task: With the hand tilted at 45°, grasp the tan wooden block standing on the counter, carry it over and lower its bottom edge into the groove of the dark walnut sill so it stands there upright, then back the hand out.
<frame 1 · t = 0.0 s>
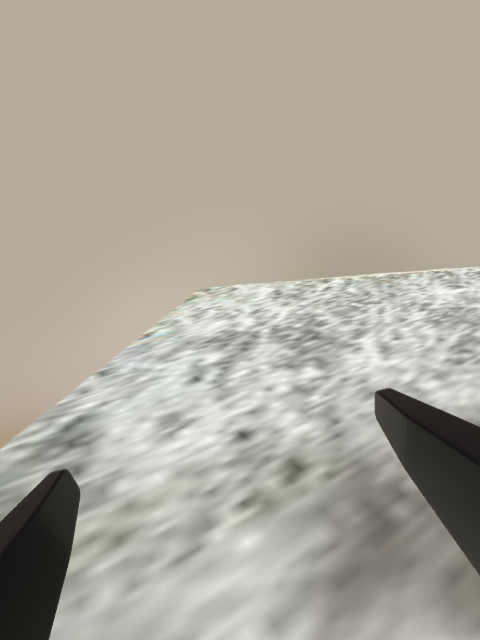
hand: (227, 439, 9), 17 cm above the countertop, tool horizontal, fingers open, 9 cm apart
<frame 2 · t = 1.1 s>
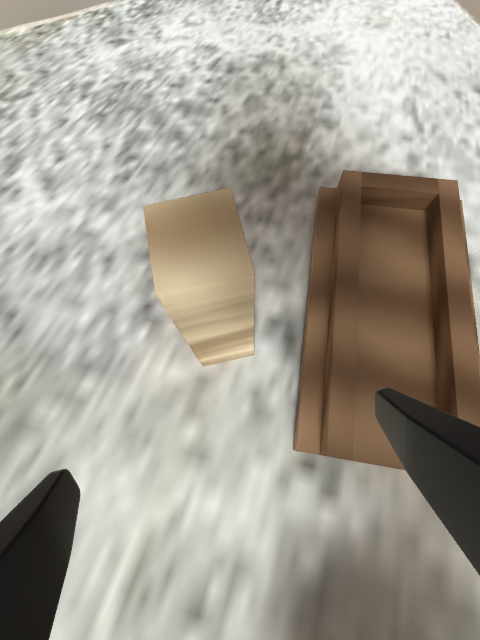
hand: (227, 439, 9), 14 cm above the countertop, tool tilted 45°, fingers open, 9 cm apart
groove sill: (382, 315, 25), on the countertop
tan wooden block: (222, 333, 25), on the countertop
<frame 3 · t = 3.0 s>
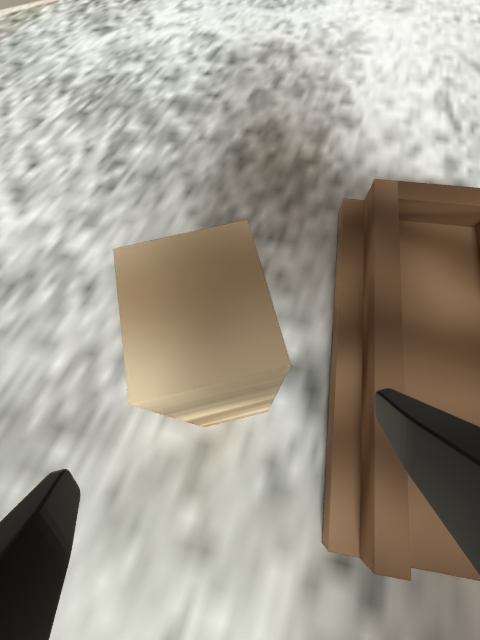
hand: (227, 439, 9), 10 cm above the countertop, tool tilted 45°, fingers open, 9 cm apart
groove sill: (426, 358, 20), on the countertop
tan wooden block: (228, 383, 20), on the countertop
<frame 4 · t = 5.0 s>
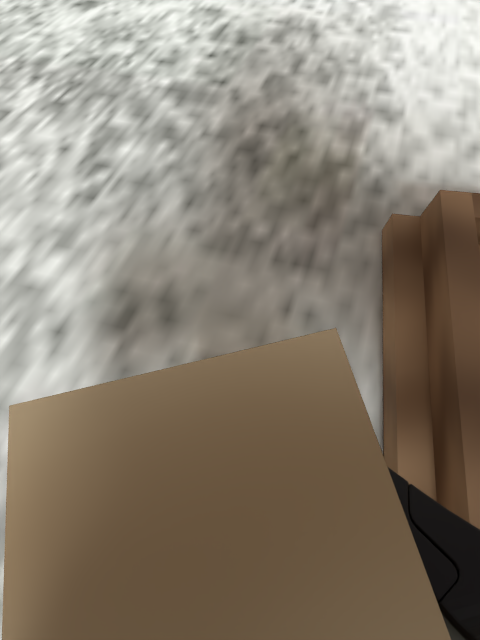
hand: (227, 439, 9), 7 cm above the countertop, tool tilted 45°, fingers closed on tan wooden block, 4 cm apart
tan wooden block: (244, 470, 15), on the countertop, touching gripper
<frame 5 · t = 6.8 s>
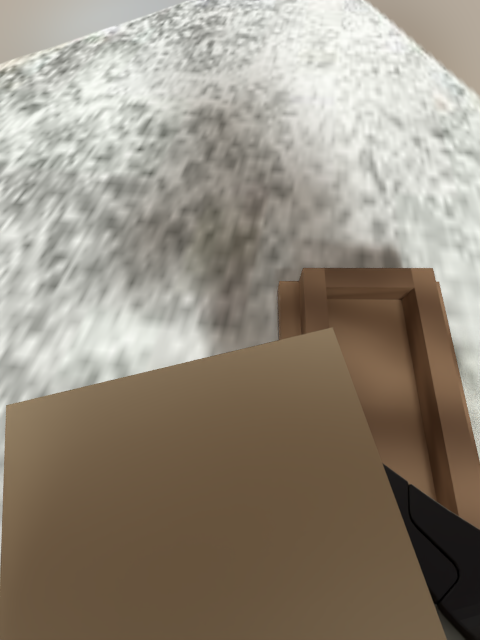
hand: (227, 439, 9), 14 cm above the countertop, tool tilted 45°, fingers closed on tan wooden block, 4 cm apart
groove sill: (369, 435, 21), on the countertop
tan wooden block: (243, 469, 15), point 7 cm above the countertop, touching gripper
when the fingers open (9 cm above the countertop, at t = 8.7 s): tan wooden block stays where it is, resting on groove sill.
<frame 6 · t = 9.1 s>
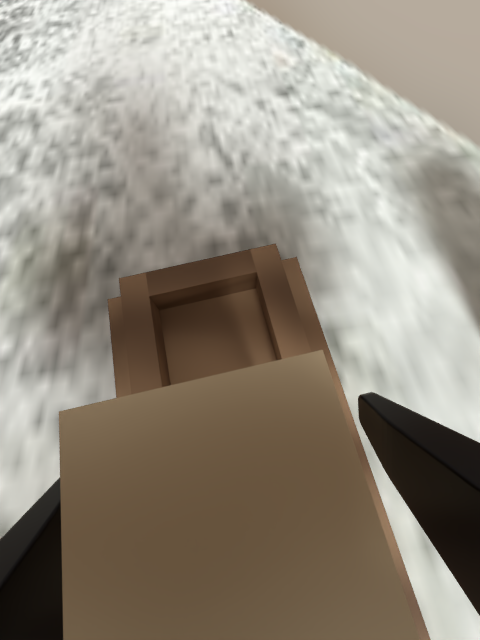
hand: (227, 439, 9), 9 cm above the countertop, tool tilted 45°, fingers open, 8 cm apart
groove sill: (245, 465, 17), on the countertop
tan wooden block: (245, 467, 16), point 1 cm above the countertop, touching groove sill
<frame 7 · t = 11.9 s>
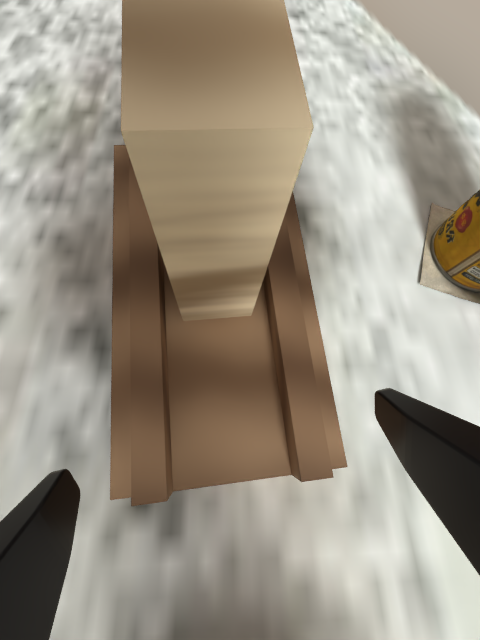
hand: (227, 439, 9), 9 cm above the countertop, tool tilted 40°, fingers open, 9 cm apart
condiment: (477, 262, 23), on the countertop
groove sill: (214, 293, 20), on the countertop
tan wooden block: (214, 283, 19), point 1 cm above the countertop, touching groove sill
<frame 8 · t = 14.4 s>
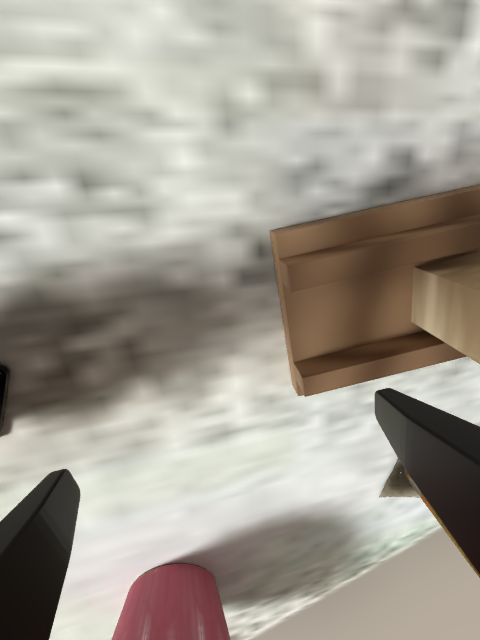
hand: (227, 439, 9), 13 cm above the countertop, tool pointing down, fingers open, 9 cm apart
condiment: (424, 463, 31), on the countertop
plant pot: (173, 586, 33), on the countertop
groove sill: (428, 281, 23), on the countertop
tan wooden block: (443, 288, 21), point 1 cm above the countertop, touching groove sill
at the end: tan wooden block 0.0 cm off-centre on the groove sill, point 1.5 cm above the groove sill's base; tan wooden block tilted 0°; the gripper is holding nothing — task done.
